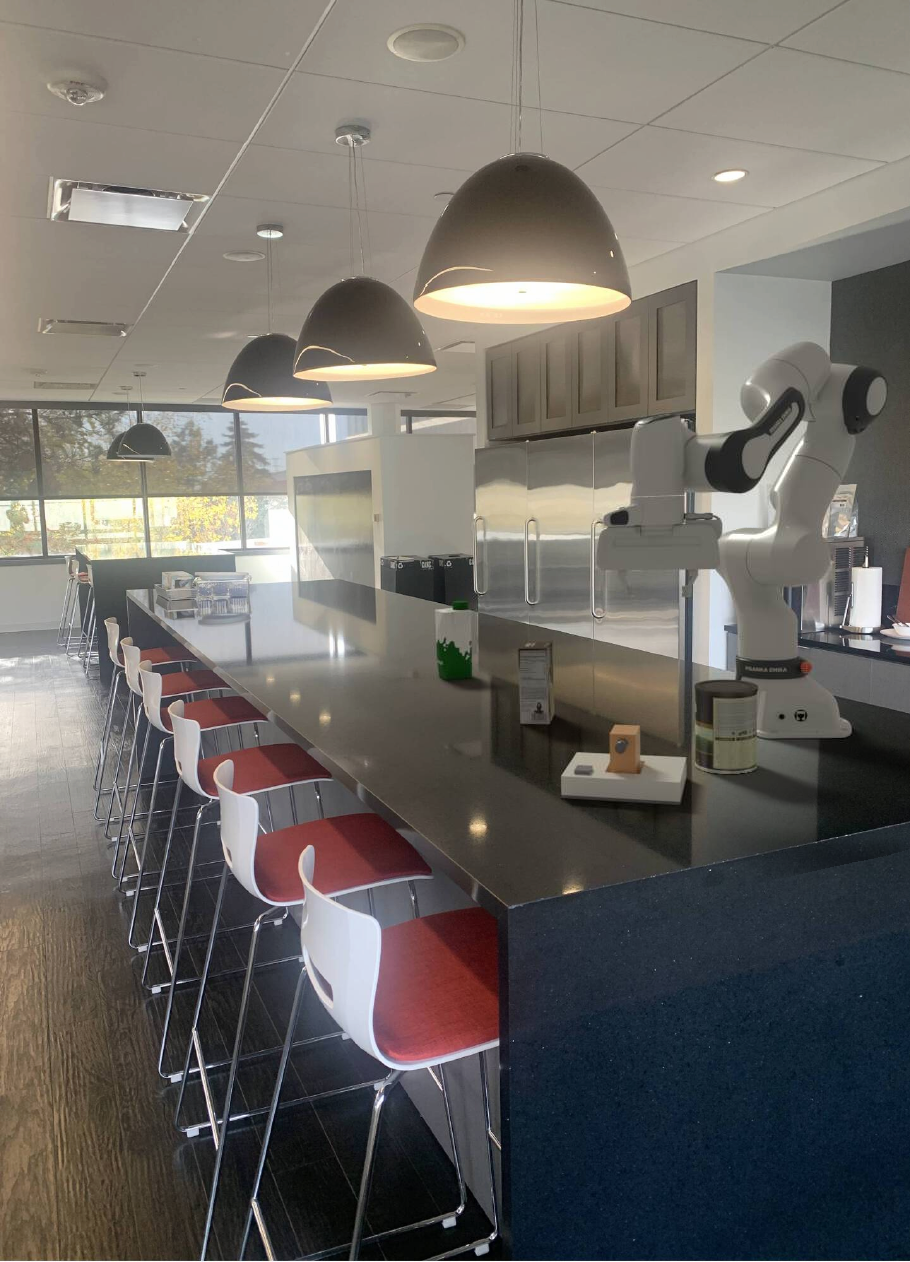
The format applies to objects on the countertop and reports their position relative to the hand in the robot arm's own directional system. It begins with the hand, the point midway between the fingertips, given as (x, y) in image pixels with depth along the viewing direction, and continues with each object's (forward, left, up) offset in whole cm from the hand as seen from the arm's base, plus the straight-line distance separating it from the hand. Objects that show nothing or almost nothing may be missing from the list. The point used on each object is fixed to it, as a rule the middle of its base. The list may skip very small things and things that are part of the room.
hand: (657, 596), depth 159 cm
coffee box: (+28, -30, -29) cm, 50 cm away
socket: (+4, +14, -29) cm, 33 cm away
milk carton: (+60, -74, -29) cm, 100 cm away
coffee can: (-11, -1, -29) cm, 31 cm away
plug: (+4, +15, -29) cm, 33 cm away
